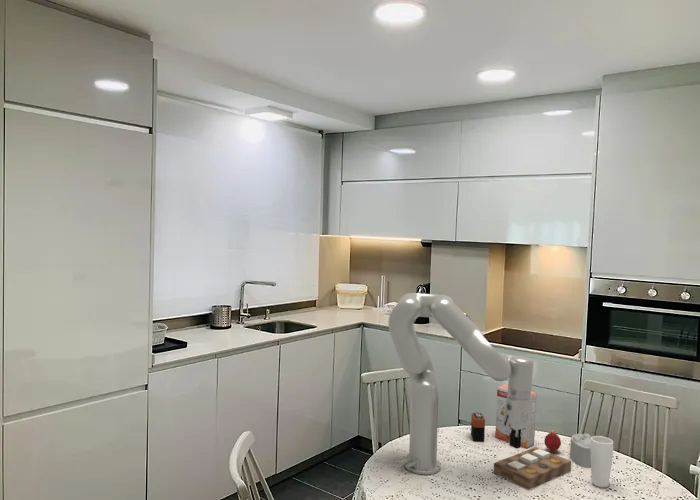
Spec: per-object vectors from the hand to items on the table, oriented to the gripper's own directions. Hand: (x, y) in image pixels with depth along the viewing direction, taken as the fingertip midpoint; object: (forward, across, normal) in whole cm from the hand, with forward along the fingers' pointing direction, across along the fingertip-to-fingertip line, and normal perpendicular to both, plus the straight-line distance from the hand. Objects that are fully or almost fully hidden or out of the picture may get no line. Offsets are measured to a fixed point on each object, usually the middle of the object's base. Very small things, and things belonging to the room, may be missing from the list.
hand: (514, 446), depth 182 cm
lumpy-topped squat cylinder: (+9, +33, -7) cm, 35 cm away
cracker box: (+10, +25, +18) cm, 32 cm away
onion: (+9, +29, +4) cm, 31 cm away
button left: (+8, +1, -1) cm, 8 cm away
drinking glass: (+9, +19, -20) cm, 29 cm away
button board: (+10, +8, -2) cm, 13 cm away
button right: (+7, +15, -1) cm, 16 cm away
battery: (+10, +15, +28) cm, 33 cm away
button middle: (+7, +8, -1) cm, 11 cm away
